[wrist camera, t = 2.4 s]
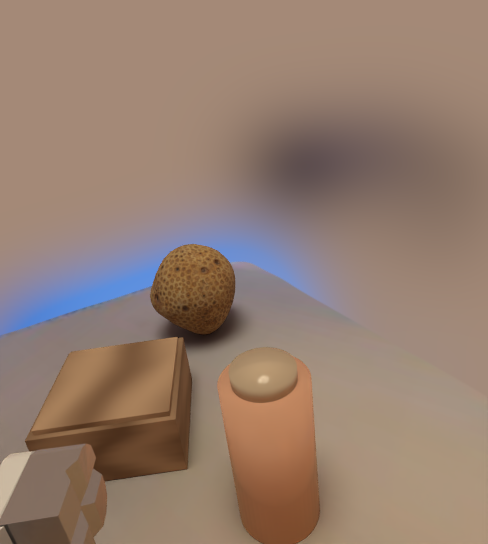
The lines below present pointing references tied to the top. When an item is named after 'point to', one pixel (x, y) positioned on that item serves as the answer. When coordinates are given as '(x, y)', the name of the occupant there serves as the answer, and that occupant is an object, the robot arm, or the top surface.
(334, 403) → the top surface
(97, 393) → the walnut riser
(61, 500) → the robot arm
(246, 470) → the terracotta jar
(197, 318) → the natural sponge
